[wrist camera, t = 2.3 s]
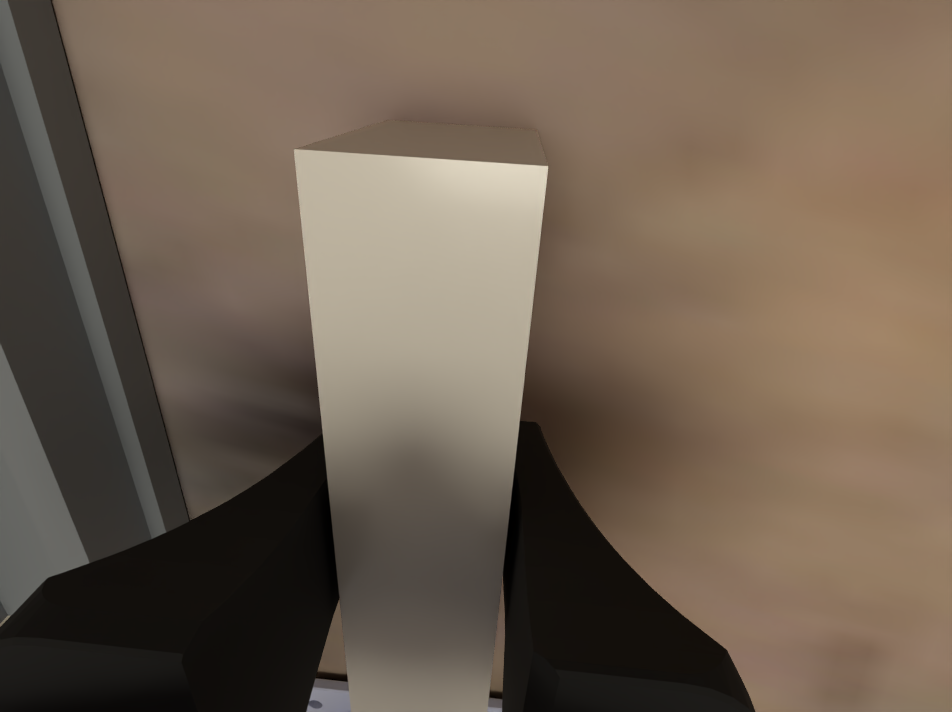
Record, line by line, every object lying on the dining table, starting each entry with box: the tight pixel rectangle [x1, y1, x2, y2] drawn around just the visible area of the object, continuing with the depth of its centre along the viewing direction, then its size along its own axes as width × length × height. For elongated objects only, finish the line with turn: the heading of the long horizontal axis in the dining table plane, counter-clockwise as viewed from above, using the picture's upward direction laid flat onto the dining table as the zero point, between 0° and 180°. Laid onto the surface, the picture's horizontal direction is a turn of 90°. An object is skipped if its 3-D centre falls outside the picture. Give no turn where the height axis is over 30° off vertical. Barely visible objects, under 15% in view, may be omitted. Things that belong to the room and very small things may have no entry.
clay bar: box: [294, 120, 548, 712], centre depth 12 cm, size 14×3×5 cm, turn 177°
